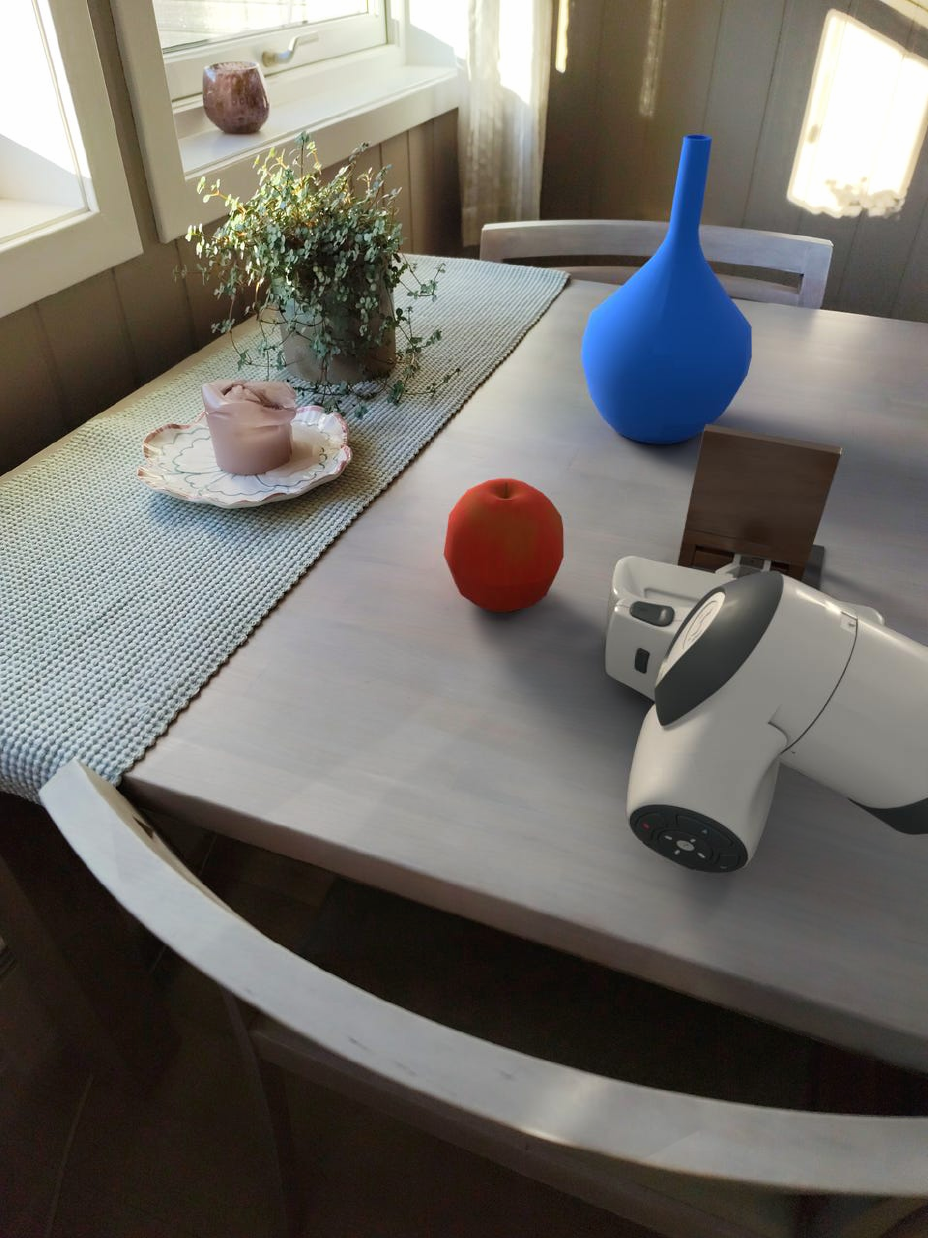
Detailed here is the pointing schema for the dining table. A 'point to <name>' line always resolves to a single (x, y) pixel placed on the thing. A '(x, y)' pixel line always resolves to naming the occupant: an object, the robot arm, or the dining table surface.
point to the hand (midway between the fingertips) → (751, 563)
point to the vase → (669, 330)
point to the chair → (756, 499)
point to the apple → (504, 545)
